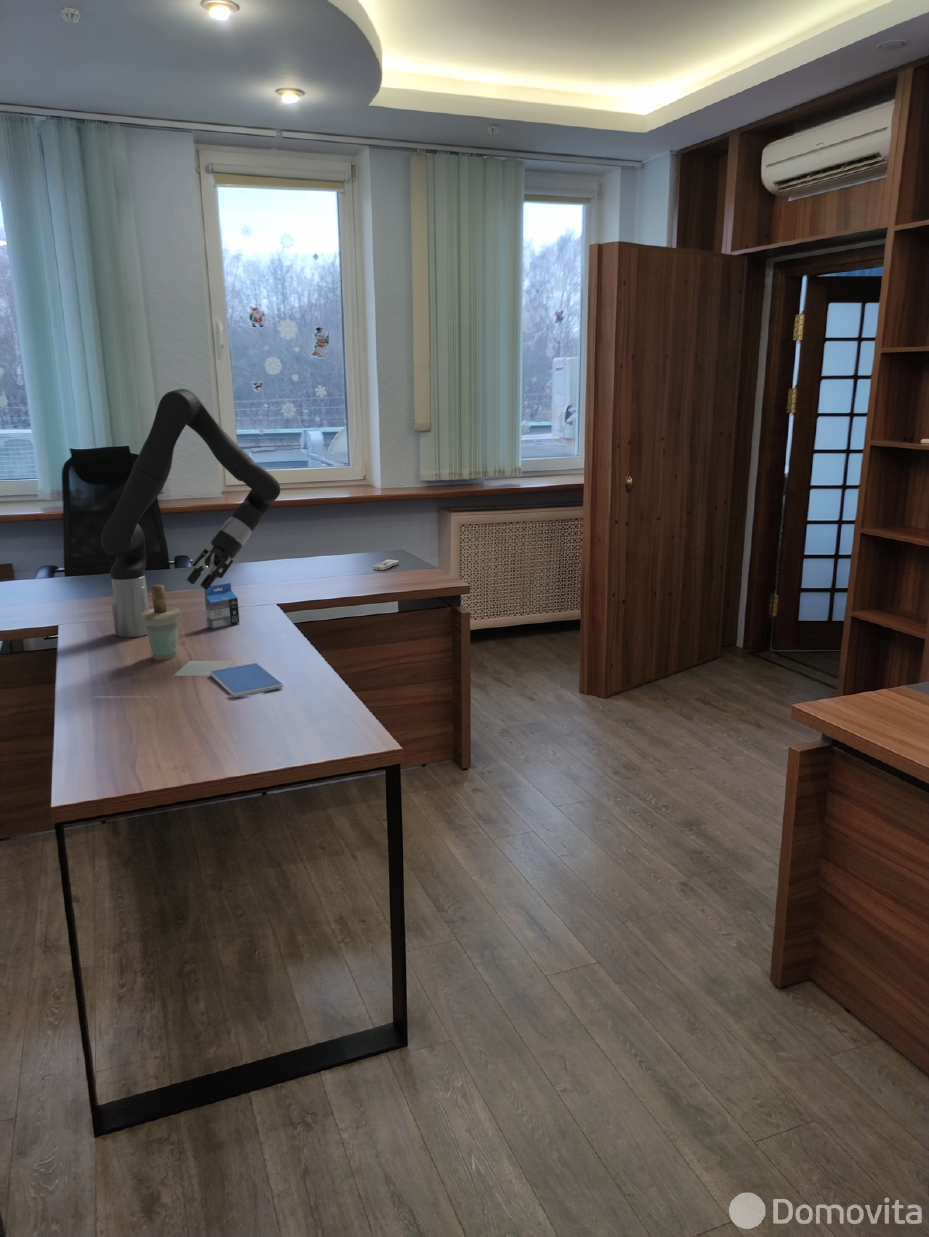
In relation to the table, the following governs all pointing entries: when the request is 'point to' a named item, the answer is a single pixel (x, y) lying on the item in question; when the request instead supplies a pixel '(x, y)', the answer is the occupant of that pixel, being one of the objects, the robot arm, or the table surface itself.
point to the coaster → (202, 668)
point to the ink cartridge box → (221, 606)
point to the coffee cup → (163, 637)
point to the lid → (159, 606)
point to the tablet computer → (246, 680)
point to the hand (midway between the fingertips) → (196, 585)
